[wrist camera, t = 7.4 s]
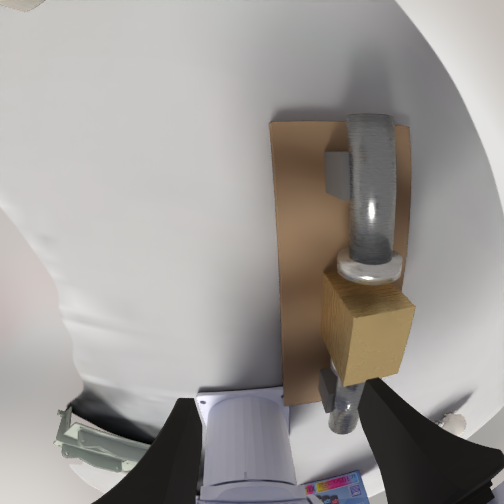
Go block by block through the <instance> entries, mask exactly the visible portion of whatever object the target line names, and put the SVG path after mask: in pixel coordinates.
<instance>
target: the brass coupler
mask: <svg viewBox="0 0 504 504" xmlns="http://www.w3.org/2000/svg"><path fill="white" fill-rule="evenodd" d="M415 307H416V306H415V305H414V304H413V303H412V302H411V301H410V300H409V299H408V298H407V297H406V296H405V295H404V294H403V293H402V292H401V291H400V290H399V289H398V288H396V287H395V286H394V285H393V284H392V283H388V284H383V285H365V284H359V283H355V282H352V281H349V280H347V279H345V278H343V277H342V276H341V275H340V274H339V273H338V271H337V270H332V271H323V283H322V310H321V330H320V333H321V335H322V338H323V340H324V342H325V345H326V347H327V349H328V352H329V354H330V356H331V359H332V361H333V364H334V366H335V368H336V371H337V373H338V375H339V378H340V380H341V383H342V385H343V387H345V386H349V385H354V384H358V383H363V382H365V381H366V380H368V379H372V378H376V377H379V378H382V377H386V376H390V375H393V374H397V373H398V371H399V367H400V364H401V361H402V358H403V354H404V351H405V347H406V344H407V340H408V336H409V332H410V328H411V324H412V320H413V316H414V311H415Z"/></svg>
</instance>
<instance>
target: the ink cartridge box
mask: <svg viewBox="0 0 504 504" xmlns="http://www.w3.org/2000/svg"><path fill="white" fill-rule="evenodd" d="M302 485H305V490H306V495H309V494H312V495H315V496H316V497H317V498H318V499H319V500H321V501H322V502H323V503H324V504H370V503H369V500H368V497H367V494H366V491H365V488H364V485H363V481H362V478H361V475H360V472H359V470H357V471H354V472H351V473H348V474H344V475H340V476H337V477H333V478H329V479H325V480H321V481H317V482H312V483H307V484H302Z"/></svg>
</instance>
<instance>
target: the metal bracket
mask: <svg viewBox="0 0 504 504" xmlns="http://www.w3.org/2000/svg"><path fill="white" fill-rule="evenodd" d="M71 413H72V407H71V406H70V408H69V409H66V410H65V411H60V410H58V415H60V416H61V417H62V419H61V423H60V426H59V430H58V433H57V437H56V441H55V442H54V443H53V444H54V445H56V446H59V447H61V448H62V455H63V457H65V458H79V459H80V460H82V461H84V462H86V463H88V464H89V465H91V466H93V467H96V468H100V469H104V470H108V471H112V472H117V473H118V472H121V471H122V470H125V471H128V470H131V469H133V468H134V467H135V465H136V464H137V463H138V462H139V461H140V459H141V458H142V457H143V456H144V454H145V453H146V452H147V450H148V449H149V447H150V446H151V445H149V444H145V443H141V442H137V441H133V440H130V439H126V438H122V437H119V436H116V435H112V434H109V433H106V432H103V431H100V430H97V429H94V428H91V427H88V426H85V425H83V424H80V423H77V422H75V423H74V424H73V425H72V426H71V427H70V422H71ZM65 452H66V453H67V454H68V455H66V453H65Z"/></svg>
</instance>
